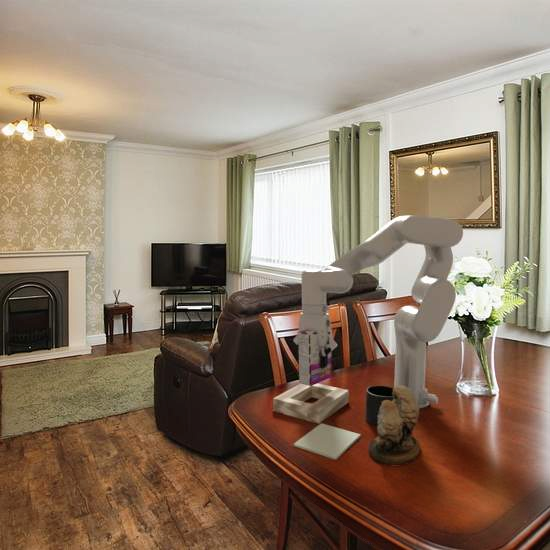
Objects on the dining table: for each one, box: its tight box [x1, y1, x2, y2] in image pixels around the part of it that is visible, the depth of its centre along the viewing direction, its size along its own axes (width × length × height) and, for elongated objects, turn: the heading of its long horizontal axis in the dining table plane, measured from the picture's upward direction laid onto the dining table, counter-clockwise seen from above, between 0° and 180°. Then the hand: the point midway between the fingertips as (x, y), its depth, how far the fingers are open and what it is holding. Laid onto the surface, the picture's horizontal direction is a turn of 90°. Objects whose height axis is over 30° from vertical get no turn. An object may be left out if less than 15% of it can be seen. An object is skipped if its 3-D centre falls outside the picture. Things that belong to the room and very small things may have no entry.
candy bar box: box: [297, 331, 333, 386], centre depth 138 cm, size 11×5×16 cm, turn 136°
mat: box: [293, 422, 361, 460], centre depth 116 cm, size 12×15×1 cm
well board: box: [272, 383, 350, 425], centre depth 139 cm, size 16×20×4 cm
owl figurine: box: [368, 385, 421, 466], centre depth 111 cm, size 18×12×17 cm, turn 147°
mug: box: [365, 385, 394, 427], centre depth 130 cm, size 9×12×9 cm
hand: (315, 365), depth 138 cm, fingers closed on candy bar box, 5 cm apart
